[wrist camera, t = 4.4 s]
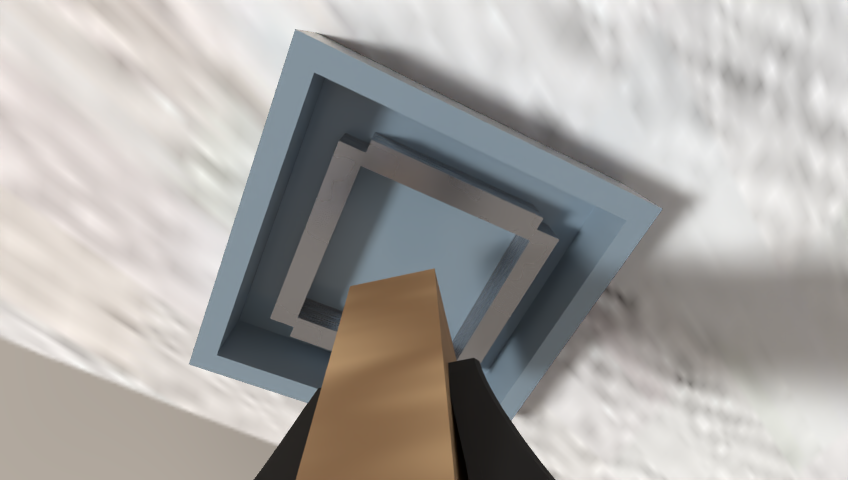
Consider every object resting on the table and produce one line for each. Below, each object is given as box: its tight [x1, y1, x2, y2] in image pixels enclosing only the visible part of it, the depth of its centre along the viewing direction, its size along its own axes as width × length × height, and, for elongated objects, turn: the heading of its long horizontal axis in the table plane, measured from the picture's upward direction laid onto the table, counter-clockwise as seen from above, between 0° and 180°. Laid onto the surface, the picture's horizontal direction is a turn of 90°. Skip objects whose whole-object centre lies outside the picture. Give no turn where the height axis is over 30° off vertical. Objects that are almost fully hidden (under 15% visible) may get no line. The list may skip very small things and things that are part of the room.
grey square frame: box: [270, 132, 559, 363], centre depth 16 cm, size 8×8×1 cm
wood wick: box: [296, 268, 469, 480], centre depth 10 cm, size 2×4×7 cm, turn 13°
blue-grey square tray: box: [189, 29, 662, 420], centre depth 16 cm, size 12×12×3 cm
